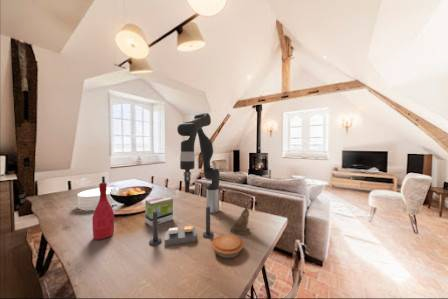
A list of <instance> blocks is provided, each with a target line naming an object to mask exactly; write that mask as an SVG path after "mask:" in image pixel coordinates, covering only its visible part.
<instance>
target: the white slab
mask: <svg viewBox="0 0 448 299" xmlns="http://www.w3.org/2000/svg"><path fill="white" fill-rule="evenodd" d="M177 230H179V227H169V228H168V231H169V232H168V234H174V233H177Z"/></svg>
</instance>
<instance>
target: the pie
mask: <svg viewBox="0 0 448 299" xmlns="http://www.w3.org/2000/svg"><path fill="white" fill-rule="evenodd" d="M211 246H212V249H213V250H214V251H215V253H216V254H217V255H218V256H219V257H220V258H225V259H232V258H235V257H237V256H238V255H239V254H240V252H241V251H242V250H243V249H244V241H243V240H242V239H241V238H240V237H238V236H236V235H234V234H223V235H218V236H216V237H215V238H214V239H213V240H212V242H211Z"/></svg>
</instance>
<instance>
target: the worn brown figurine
mask: <svg viewBox="0 0 448 299" xmlns="http://www.w3.org/2000/svg"><path fill="white" fill-rule="evenodd" d="M248 208H249V205H248V204H246V205H245V209H243V211H242V212H241V213H240V216H239V218H237V220H236V221H235V222H234V223H233V224H232V225H231V227H229V228H230V230H229V232H230V233H234V234H238V235H244V236H245V235H246V236H250V234H251V229H250V228H248V224H249V220H250V219H249V216H250V211H249V209H248Z"/></svg>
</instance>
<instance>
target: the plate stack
mask: <svg viewBox="0 0 448 299" xmlns="http://www.w3.org/2000/svg"><path fill="white" fill-rule="evenodd" d="M106 188H107V190H106V196H107V200H108V202H109V204H113V203H115V201H114V200H113V199H112V197H111V196H110V192H111V189H112V188H115V189H117V191H118V190H119V188H118V187H112V186H111V187H106ZM99 190H100V187H98V188H92V189H87V190H83V191H81V192H79V193H77V209H78V208H79V209H82V210H93V211H95V210H94V209H96V207H97V205H98V203H99V200H100V191H99ZM118 192H119V191H118Z"/></svg>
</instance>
